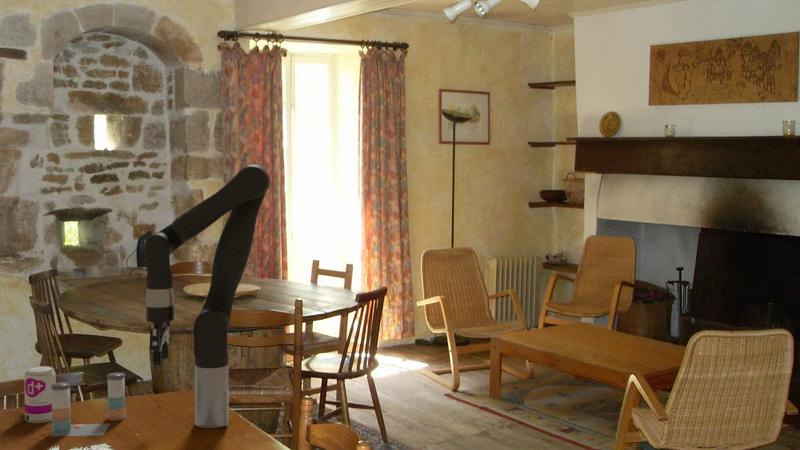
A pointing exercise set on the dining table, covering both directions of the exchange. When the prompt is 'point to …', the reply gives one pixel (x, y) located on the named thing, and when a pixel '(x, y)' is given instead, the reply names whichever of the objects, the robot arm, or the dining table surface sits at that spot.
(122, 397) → the slim tube
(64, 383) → the twin tube
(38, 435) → the dining table surface
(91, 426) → the slate card
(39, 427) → the dining table surface
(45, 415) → the supplement can
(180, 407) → the dining table surface
